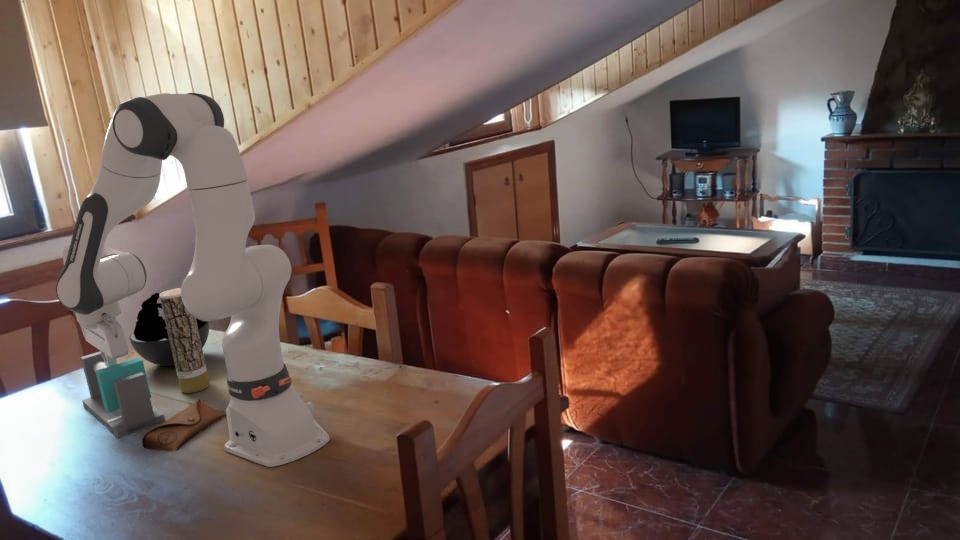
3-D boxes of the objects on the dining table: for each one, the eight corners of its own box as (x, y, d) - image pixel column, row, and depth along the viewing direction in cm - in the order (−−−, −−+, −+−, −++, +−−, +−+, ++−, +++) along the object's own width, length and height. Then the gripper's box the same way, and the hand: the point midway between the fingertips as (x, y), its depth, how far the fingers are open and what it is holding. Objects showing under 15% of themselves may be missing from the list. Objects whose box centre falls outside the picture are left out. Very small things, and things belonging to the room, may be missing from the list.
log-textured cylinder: (203, 393, 179) (182, 295, 172) (176, 395, 179) (154, 297, 172) (213, 381, 185) (194, 286, 179) (187, 383, 186) (166, 289, 179)
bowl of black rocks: (211, 369, 193) (197, 301, 188) (130, 383, 189) (113, 314, 184) (219, 344, 212) (206, 281, 207) (145, 356, 208) (130, 293, 203)
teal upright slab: (151, 397, 168) (142, 360, 166) (109, 412, 162) (99, 374, 160) (146, 394, 170) (138, 357, 168) (104, 409, 164) (95, 371, 162)
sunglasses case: (175, 452, 150) (156, 425, 150) (155, 465, 154) (136, 439, 153) (231, 412, 167) (213, 388, 166) (212, 424, 170) (195, 401, 169)
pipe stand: (165, 420, 166) (153, 371, 163) (118, 438, 160) (106, 387, 156) (126, 391, 185) (115, 346, 182) (83, 406, 178) (71, 360, 175)
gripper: (128, 314, 159) (141, 373, 163) (98, 298, 174) (112, 353, 178) (97, 322, 155) (112, 383, 159) (69, 306, 170) (84, 361, 174)
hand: (111, 367), depth 169 cm, fingers closed
